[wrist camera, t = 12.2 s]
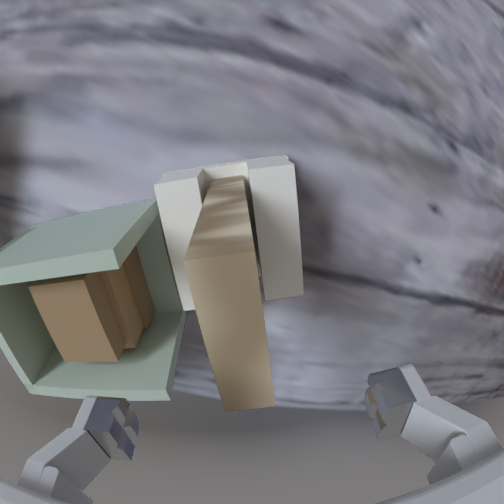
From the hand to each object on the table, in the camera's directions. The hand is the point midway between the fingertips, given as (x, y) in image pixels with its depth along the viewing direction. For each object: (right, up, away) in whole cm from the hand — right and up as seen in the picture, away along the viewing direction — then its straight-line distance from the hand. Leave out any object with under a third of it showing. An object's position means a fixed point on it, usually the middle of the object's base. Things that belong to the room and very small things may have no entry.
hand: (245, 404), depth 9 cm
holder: (-1, +8, +18) cm, 19 cm away
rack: (-14, +3, +19) cm, 24 cm away
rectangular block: (-1, +7, +16) cm, 18 cm away
